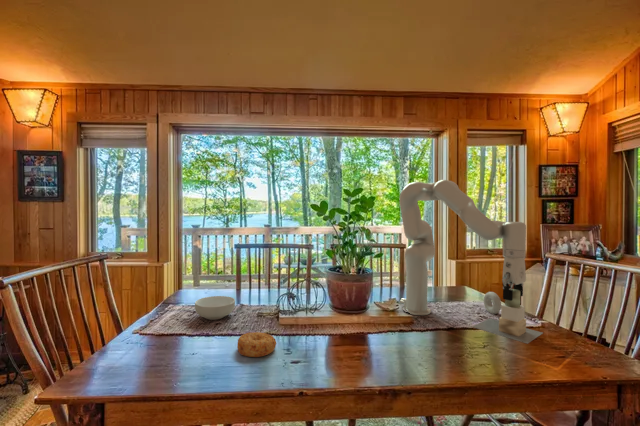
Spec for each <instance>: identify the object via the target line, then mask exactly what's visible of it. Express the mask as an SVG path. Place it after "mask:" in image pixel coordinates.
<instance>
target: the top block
mask: <svg viewBox="0 0 640 426" xmlns="http://www.w3.org/2000/svg"><path fill="white" fill-rule="evenodd" d="M525 308H526V307H525V306H524V305H521V304H520V307H519V308H513V307H508V306H506V305H505V303H503V304H501V310H500V317H501V318H503V319H507V320H510V321H514V322H520V321H522V320H524V319H525V312H526V311H525Z"/></svg>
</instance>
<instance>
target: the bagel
mask: <svg viewBox="0 0 640 426" xmlns="http://www.w3.org/2000/svg"><path fill="white" fill-rule="evenodd" d="M276 345H277V341H276V338H275V337H274V336H273V335H271V334H269V333H267V332H258V331H256V332H254V331H253V332H250V331H248V332H246V333H244V334H241V335H240V336H239V338H238V339H237V351H238V353H239V354H240V355H241V356H243V357H249V358H261V357H264V356H267V355H270V354H271V353H273V352H274V350H275V349H276Z"/></svg>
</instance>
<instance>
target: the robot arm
mask: <svg viewBox="0 0 640 426" xmlns="http://www.w3.org/2000/svg"><path fill="white" fill-rule="evenodd" d="M419 201H422V202H427V201H429V202H430V201H441V202H442V203H443V204H444V205H446V206H447V207H448V208H449V209H450V210H451V211H453V212H454V214H456V215H458V217H459V219H460V220H461V221H462V222H463V223H464V224H465V225H466V227H468V228H469V229H470V230H472V231H473V232H474V233H475V234H476V235H477V236H479V237H480V238H482V239H483V240H486V241H494V240H498V239H502V257H503V267H502V279H501V280H502V281H501V282H502V299H503V300H504V301H505V300H510V301H512V300H513V290H512V289H516V290H519V291H520V297H523V296H524V283H525V282H526V280H527V279H526V278H527V277H526V275H527V274H526V271H527V270H526V261H525V260H526V248H527V244H526V243H527V239H526V238H527V224H526V223H525V222H522V221H503V220H501V221H500V220H494V219H493V220H491V218H489V217H488V216H487V215H486V214H484V213H482V212H481V210H479V208H478V207H477V206H476V203H475V202H474V199H472V198H471V197H470V196H468V195H467V194H466V193H465V192H463V191H462V190H461V189H460V188H459V185H458V184H457V183H456V182H454V181H453V180H448V179H440V180H438V181H437V182H426V183H425V182H422V181H413V182H410V183H408V184H407V185H405V186H404V187H403V189H402V190H401V192H400V195H399V207H400V212H401V219H402V224H403V231H404V236H405V238H406V239H407V240H408V241H411V242H412V241H413V242H414V243H412V244H411V245H409V246H408V247H407V248H406V249H405V252H404V259H405V260H404V261H405V267H406V271H405V273H406V279H405V283H406V285H405V289H406V290H405V298H404V297H401V299H400V300H399V303H400V304H403V307H402V309H403V308H404V309H406V310H407V311H408V312H409V313H410V314H409V315H413V316H428V315H430V314H431V311H432V309H430V307H428V286H429V285H428V284H429V283H428V282H429V281H428V280H429V279H428V278H429V277H428V276H429V274H428V266H427V262H430V261H431V260H433V258H434V256H435V254H436V248H435V243H434V236H433V230H432V228H431V225H430V224H429V223H428V222H427V221H425V220H424V219H422V216H421V209H420V206H419V204H418V202H419Z"/></svg>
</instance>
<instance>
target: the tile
mask: <svg viewBox="0 0 640 426" xmlns="http://www.w3.org/2000/svg"><path fill="white" fill-rule="evenodd" d="M471 327H472V328H475V329H478V330H481V331H484V332H487V333H490V334H495V335H497V336H500V337H504V338H507V339H510V340H514V341H518V342H521V343H523V344H527V345H528V344H530V343H531V342H532V341H534V340H536V339H537V338H539V337H540V336H541V335H543V334H544V332H542V331H538V330H534V329H529V328H527V327H526V332H525V333H523V334H522V335H520V336H515V335H512V334H509V333H505V332H502V331H499V319H497V320H496V319H494V318H488V319H486V320H483V321H481V322H479V323H476V324H474V325H472V326H471Z"/></svg>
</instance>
